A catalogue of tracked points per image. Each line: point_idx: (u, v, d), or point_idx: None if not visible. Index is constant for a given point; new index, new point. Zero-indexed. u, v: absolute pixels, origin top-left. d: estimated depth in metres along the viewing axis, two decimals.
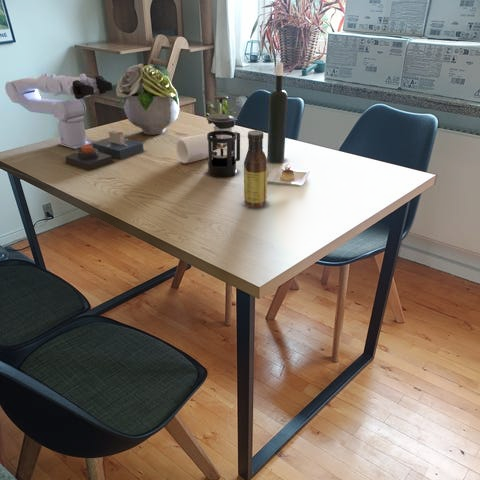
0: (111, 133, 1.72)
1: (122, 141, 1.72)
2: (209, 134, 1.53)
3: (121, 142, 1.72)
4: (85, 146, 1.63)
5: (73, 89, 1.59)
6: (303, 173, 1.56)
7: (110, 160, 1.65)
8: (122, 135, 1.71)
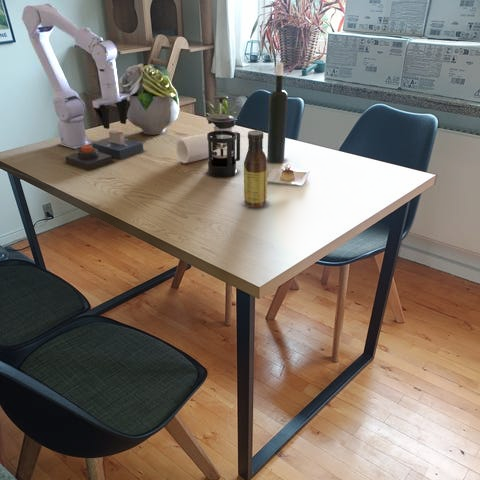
0: (111, 133, 1.72)
1: (122, 141, 1.72)
2: (209, 134, 1.53)
3: (121, 142, 1.72)
4: (85, 146, 1.63)
5: (98, 108, 1.62)
6: (303, 173, 1.56)
7: (110, 160, 1.65)
8: (122, 135, 1.71)
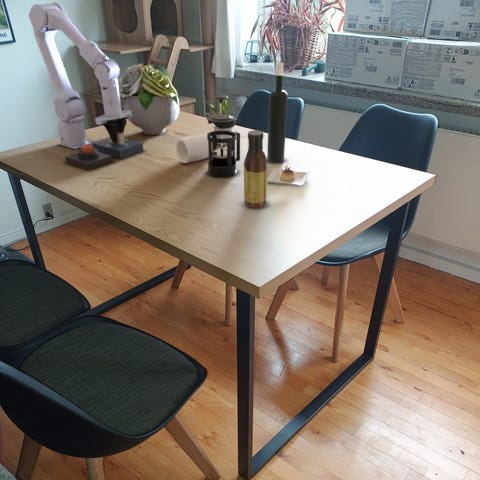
0: None
1: (122, 141, 1.72)
2: (209, 134, 1.53)
3: (121, 142, 1.72)
4: (85, 146, 1.63)
5: (107, 123, 1.67)
6: (303, 173, 1.56)
7: (110, 160, 1.65)
8: (122, 135, 1.71)
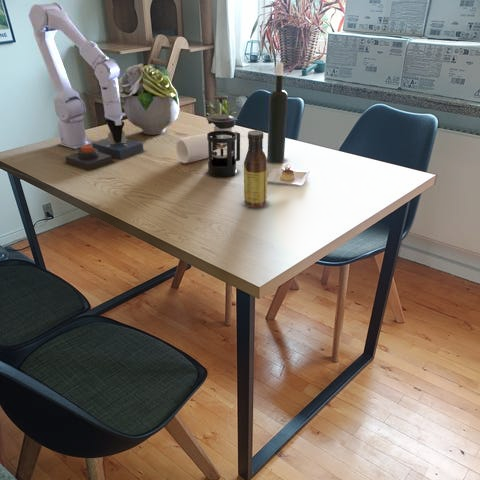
0: None
1: (124, 139, 1.74)
2: (209, 134, 1.53)
3: (125, 140, 1.74)
4: (85, 146, 1.63)
5: None
6: (303, 173, 1.56)
7: (110, 160, 1.65)
8: None
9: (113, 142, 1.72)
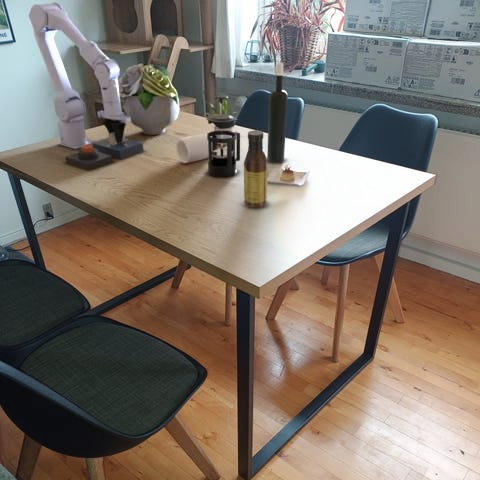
0: (114, 135, 1.71)
1: None
2: (209, 134, 1.53)
3: None
4: (85, 146, 1.63)
5: (122, 122, 1.68)
6: (303, 173, 1.56)
7: (110, 160, 1.65)
8: None
9: (115, 142, 1.72)
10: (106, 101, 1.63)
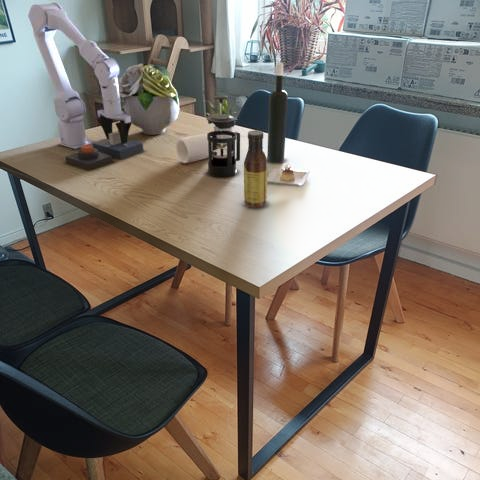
0: (114, 135, 1.71)
1: None
2: (209, 134, 1.53)
3: None
4: (85, 146, 1.63)
5: (127, 123, 1.67)
6: (303, 173, 1.56)
7: (110, 160, 1.65)
8: None
9: (115, 142, 1.72)
10: (106, 100, 1.63)
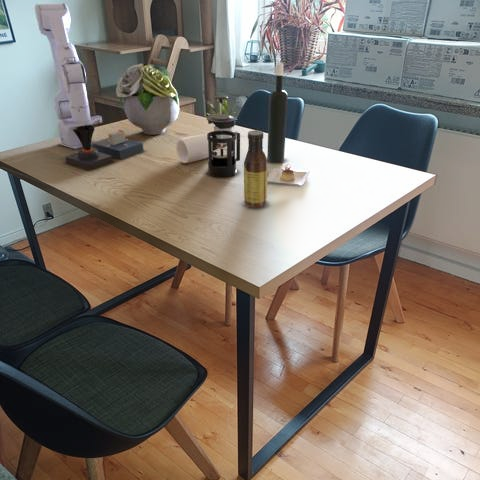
0: (114, 135, 1.71)
1: None
2: (209, 134, 1.53)
3: None
4: None
5: (77, 129, 1.57)
6: (303, 173, 1.56)
7: (110, 160, 1.65)
8: None
9: (115, 142, 1.72)
10: (70, 106, 1.54)
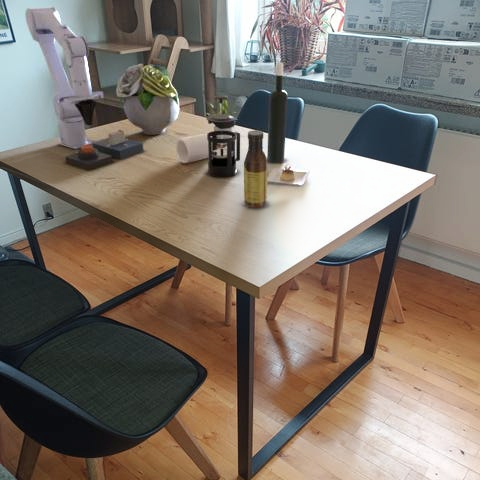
0: (114, 135, 1.71)
1: None
2: (209, 134, 1.53)
3: None
4: (85, 146, 1.63)
5: (79, 104, 1.60)
6: (303, 173, 1.56)
7: (110, 160, 1.65)
8: None
9: (115, 142, 1.72)
10: (72, 80, 1.56)
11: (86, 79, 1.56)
